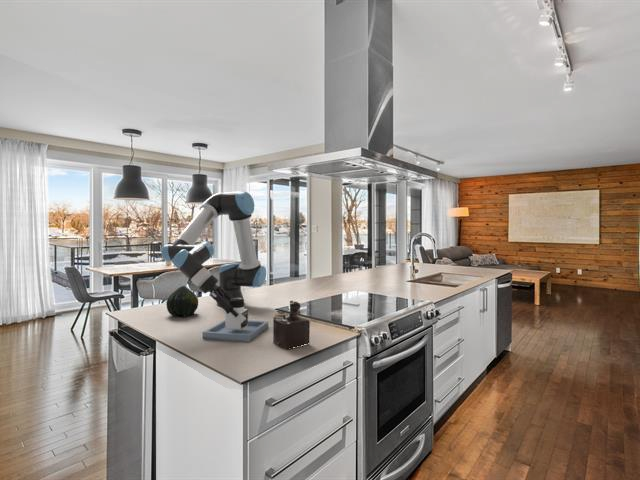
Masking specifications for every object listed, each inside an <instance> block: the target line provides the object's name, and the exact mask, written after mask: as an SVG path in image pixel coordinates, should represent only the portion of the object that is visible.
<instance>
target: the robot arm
mask: <svg viewBox="0 0 640 480" xmlns="http://www.w3.org/2000/svg"><path fill="white" fill-rule="evenodd" d="M254 201H255V200H254V198H253V196H252V195H251V194H250V193H249V192H247V191H239V190H238V191H226V192H225V191H222V192H217V193H215V194H213V195H211V196H210V197H208V198H207V199H206V200H205V201H204V202H203V203H202V204H201V205H200V207H199V211H198V212H197V213H196V215H195V216H193V218H192V220H191V221H190V222H189V223H188V224H187V226H186V227H185V228H184V229H183V231H182V232H181V233H180V234H179V235H178V237H177V238H176V239H175V240H174V242H173V243H168V244H166V245H164V246H163V247H162V249H161V257H162V258H163V260H164V261H167V262H172V264H173V266H175V268H176V269H177V270H179V272H181V273H182V274H183V275H184V276H185V277H186V278H188V279H189V281H190V282H191V284H193V285H195V286H196V287H198V289H199V290H200V291H201V292H202V293H204V294H207V293H208V292H209V293H210V295H209V296H210V297H211V298H212V299H213V300H215V302H216V306H218V307H221V308H222V309H223V310H224V311H225V312H227V314H229V313H230V314H231V315H232V316H234V317H235V318H236V319H237V320H238V321H239V322H240V323H242V322H243V321H244V320H245V319H246V318H245V317H244V316H243V315H242V314H241V313H240V312H239V311H238V310H237V309H236V308H235V307H234V308H233V307H232V305H231V304H230V303H229V300H230V299H233V298H242V299H243V300H244V301H245V298H244V295H243V293H242V287H249V288H251V287H252V288H260V287H262V286H263V284H264V283H265V281H266V278H267V269H266V267H265V266H263V265H262V263H261V261H260V259H257V258H258V257H257V253H256V248H255V243H254V237H253V232H252V226H251V221H250V219H251V218H252V214H253V213H254V211H255V202H254ZM223 215H227V216H228V219H229V221H231V222H232V224H233V229H234V234H235V238H236V244H237V247H238V248H237V249H238V254H239V258H240V262H233V263H232V262H231V263H226V264H222V265H220V267H219V271H218V272H219V277H218V278H219V280H218V278H217V277H215V276H214V275H213V274H211V272H210V271H209V270H208V269H207V268H206V267H205V266H204V265H203V264H204V263H205V262H207V261H208V260H210V259H211V258H212V256H214V253H215V249H214V246H213V245H212V244H211V243H210V242H208V241H202V242H200V243H198V244H196V242H197V241H198V240H199V238H200V237H201V236H202V234H203V233H204V231H206V229H207V228H208V227H209V225H210V224H211V223H212V222H213V221H214V220H216V219H217V218H218V217H219V216H223ZM218 282H219V286H218V285H217V283H218ZM243 309H245V307H244V308H243Z"/></svg>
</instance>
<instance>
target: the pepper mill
mask: <svg viewBox="0 0 640 480" xmlns="http://www.w3.org/2000/svg"><path fill="white" fill-rule="evenodd" d="M289 308H290V312H289V314H288V313H286V314H287V315H285V316H284V315H283V317H281V318H275V319H273V320H272V321H273V324H272V326H273V329H272V330H273V333H272V335H273V337H272V340H273V341H272V342H273V343H272V344H274V343H275V344H274V345H276V346H277V347H280V346H281V347H280V348H282V347H284V348H283V349H285V348H286V349H285V350H290V349H289V348H293V347H297V346H301V345H304V344H308V343H309V344H310V334H311V333H310V329H311V328H310V325H311V324H310V322H311V321H310V320H309V319H307V318H304V317H302V316H299V315H301V310H300V309H301V304H300V302H298V301H294V300H290V301H289Z"/></svg>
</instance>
